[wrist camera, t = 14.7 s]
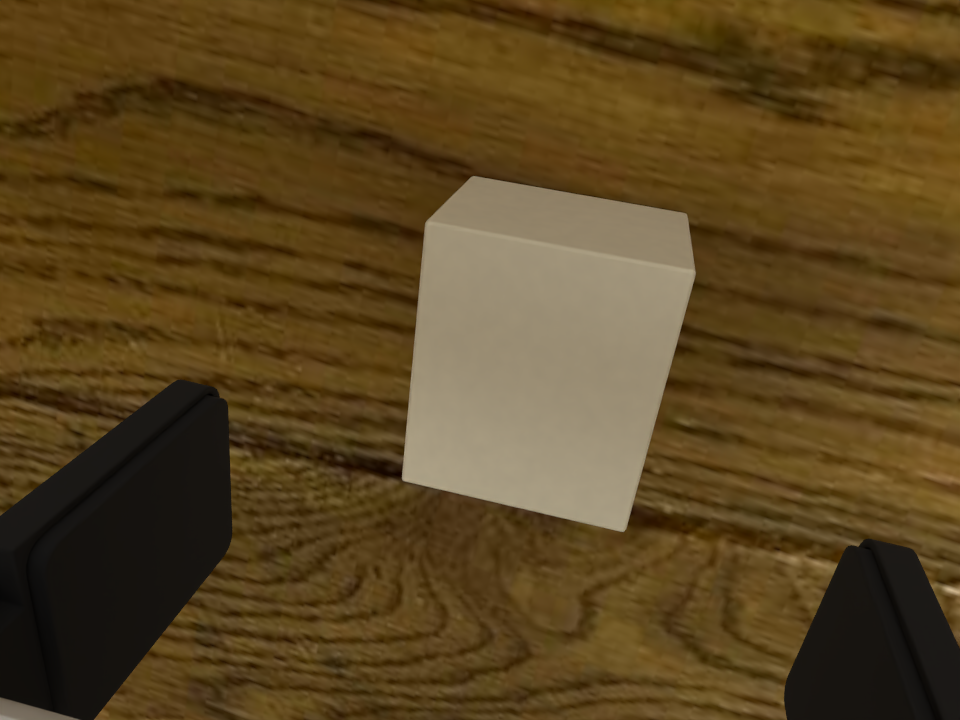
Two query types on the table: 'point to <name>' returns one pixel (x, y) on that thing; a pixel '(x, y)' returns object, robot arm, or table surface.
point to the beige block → (544, 347)
